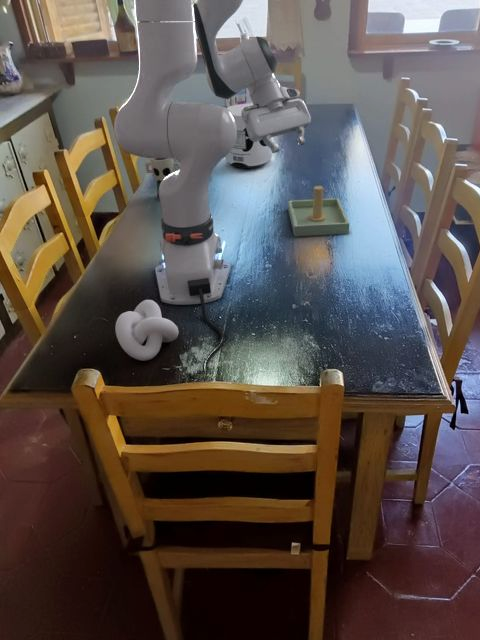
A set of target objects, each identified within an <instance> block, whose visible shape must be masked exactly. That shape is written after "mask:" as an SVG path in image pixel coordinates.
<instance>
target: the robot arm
mask: <svg viewBox="0 0 480 640" xmlns="http://www.w3.org/2000/svg"><path fill="white" fill-rule="evenodd" d="M243 1H244V0H195V2H194V0H134V14H135V22H136V23H135V24H136V32H137V43H138V61H139V63H138V64H139V65H138V68H139V70H138V75H137V80H136V81H137V82H136V84H135V87H134V89H133V92H132V93H131V95H130V97H129V98H128V100H127V101H126V102H125V103H123V105H122V106H121V107H120V108H119V110H118V111H117V113H116V116H115V118H114V122H113V128H114V129H113V130H114V136H115V139H116V142H117V143H118V145H119V146H120V148H121V150H122V151H124V152H125V153H126V154H129V155H132V156H137V157H141V158H145V159H150V158H171V159H174V160H177V161H178V160H179V161H180V167H181V168H180V169H179V170H178V169H176V170H177V171H175V172H173V173H171V174H169V175H168V176H167V177H165V178H164V179H163V180H162V182H161V183H160V186H159V191H158V193H159V198H158V200H159V206H160V210H161V216H162V217H161V219H160V220H161V221H160V223H161V231H162V236H161V237H160V239H159V240H158V242H159V248H160V254H161V260H159V265H157V266H156V267H155V268H154V273H155V277H156V283H157V287H158V293H159V297H160V301H161V302H162V303H165V304H168V305H180V306H181V305H182V306H186V305H188V306H189V305H200V307H201V308H200V309H201V314H202V317H203V319H204V321H205V323H207V325H208V326H210V327H211V328H212V329H213V330H214V331H216V332H217V333H218V334H219V336H220V340H219V343H218V344H217V345H216V347H217V346H218V345H219V344H220V342H221V339H222V337H223V341H222V343H221V344H220V346H219V347H218V348H217V349H216V350H215V351H214V352H213V353H212V354H211V355H210V353H209V354H208V355H207V356H206V358H207V357H208V356H209V355H210V357H209V358H208V360H207V362H206V369H207V371H208V372H209V373H210V371H209V370H208V365H209V362H210V360H211V359H212V358H213V357H214V356H215V355H216V354H217V353H218V352H219V351H220V350H221V349H222V347H223V345H224V343H225V338H226V336H225V333H224V331H223V330H222V329H221V328H220V327H219V326H217V325H216V324H215V323H213V322H212V321H211V320H210V318H209V317H208V315H207V310H206V303H211V302H215V301H216V300H219V299H221V298H222V296H223V293H224V290H225V287H226V284H227V282H228V279H229V275H230V273H231V270H232V263H231V262H229V261H226V260H224V257H223V255H224V254H223V253H224V252H223V251H224V249H225V246H226V241H225V240H223V242H222V238H221V236H219V235H218V234H217V233H216V232H215V231H214V229H215V228H214V219H213V214H212V213H211V209H210V182H211V177H212V175H213V172H214V170H215V169H216V167H217V166H218V164H219V163H220V162H221V161H222V160H223V159H224V158H225V157H226V156H227V155H228V154H229V153H230V151H231V150H232V148H233V147H234V144H235V141H236V137H237V128H236V123H235V120H234V118H233V116H232V114H231V113H230V111H229V110H228V109H227V106H226V107H225V106H222V105H219V104H214V103H210V102H204V101H203V102H202V101H201V102H199V101H198V102H196V101H173V91H174V88H175V86H177V85H179V84H181V83H183V82H184V81H186V80H187V79H188V78H190V77H191V76H192V75H193V74H194V72H196V70H197V69H196V68H197V65H198V48H197V41H198V45H199V48H200V53H201V56H202V59H203V63H204V69H205V74H206V75H205V76H206V77H205V78H206V80H207V84H208V87H209V88H210V90H211V91H212V93H213V94H214V96H216V97H217V98H220V99H224V100H226V99H229V98H231V97H232V96H234V95H235V94H237V93H238V92H239V91H241V90H243V89H245V88H248V90H249V93H250V98H251V101H252V103H253V105H252V106H249V107H244V108H243V110H242V112H241V116H242V118H243V120H244V122H245V126H246V130H247V133H248V136H249V138H250V140H252V141H253V142H256V141H260V140H263V141H264V143H265V144H266V145H267V146H268V147H269V148H270V149H271V151H272V153H273V154H276V153H278V152H280V147H279V144H278V143H274V142H273V140H272V138H275V137H278V136H282V135H285V134H289V133H293V132H295V133H296V135H298V138H297V139H296V143H297V145H298V146H303V145H305V144H306V139H305V137H304V136H305V129H307V127H309V125H310V124H312V123H311V122H312V116H311V114H310V111H309V109H308V108H307V105H306V102H304V100H303V99H302V98H300V96H301V93H300V91H299V89H297V88H292V87H287V86H286V87H285V86H283V85H281V84H280V82H279V81H278V79H277V78H276V75H275V72H276V69H277V66H278V60H277V58H276V57H275V55H274V53H273V51H272V47H271V44H270V42H269V40H268V39H266V38H263V37H261V36H254V37H251V38H249V39H247V40H244V41H243V42H241V43H240V42H239V44H238V45H237V46H235V47H234V48H232V49H230V50H228V51H226V52H225V53H222V54H219V53H220V52H219V50H218V45H217V41H216V39H217V36H218V33H219V32H220V30H221V29H222V27H223V26H224V25H225V24H226V22H227V21H228V20H230V18H231V17H233V15H235V13H236V12H237V11H238V10H239V8H240V7H241V6H242V4H243ZM270 139H271V140H270ZM206 358H205V359H204V361H203V364H202V371H203V373H204V375H205V371H204V363H205V360H206Z"/></svg>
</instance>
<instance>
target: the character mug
mask: <svg viewBox="0 0 480 640" xmlns="http://www.w3.org/2000/svg"><path fill="white" fill-rule="evenodd" d="M149 166H150V167H149ZM176 166H177V169H176ZM144 167H145V171H146V173H148V174H151V175H152V177H153V179H154V180H157V181H156V190H157V191H156V193H157V199H159V193H158V191H159V186H160V183H161V182H162V180H163V179H164V178H165V177H167V176H168V175H169V174H171V173H173V172H175V171H177V170H179V169H180V168H181V167H180V162H178V161H175V159H171V158H149V161H147V162H145V163H144ZM150 168H151V169H150Z"/></svg>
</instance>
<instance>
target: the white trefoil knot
mask: <svg viewBox="0 0 480 640" xmlns="http://www.w3.org/2000/svg"><path fill="white" fill-rule="evenodd" d="M114 327H115V331H114V332H115V336H116V339H117V341H118V344H119V345H120V347H121V348H122V349H123V351H124V352H125V353H126V354H127V355H128V356H129V357H131V358H132V359H135V360H138V361H142V362H147V361H150V360H152V359H154V358H155V357H156V356H157V355H158V354H159V352H160V350H161V348H162V345H163V344H162V343H171V342H173V341H175V340H176V339H177V338H178V336H179V333H180V331H179V328H178V326H177V325H176V324H175V323H174V322H173V321H172V320H170V319H168V318H165V317H163V316H162V311H161V308H160V306H159V304H158V303H157V302H155V301H154V300H153V299H144V300H143V301H141V302H140V303H139V304H137V306H136V307H135V308H134V310H133V311H131V310H128V311H125V312H122V313H121V314H120V315H119V316H118V317H117V319H116V321H115V326H114ZM145 341H146V343H145ZM144 343H145V344H144ZM143 344H144V345H143Z"/></svg>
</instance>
